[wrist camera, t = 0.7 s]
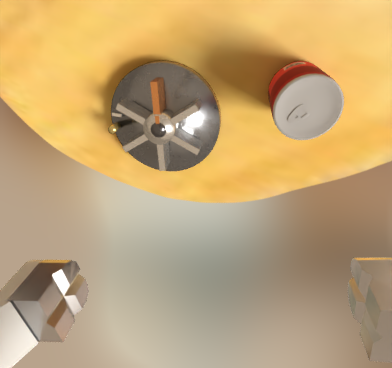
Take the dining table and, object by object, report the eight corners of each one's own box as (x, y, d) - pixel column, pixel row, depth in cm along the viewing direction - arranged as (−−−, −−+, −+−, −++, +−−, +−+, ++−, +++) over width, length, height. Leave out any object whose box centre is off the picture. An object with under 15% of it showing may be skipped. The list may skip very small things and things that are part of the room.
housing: (120, 46, 44) (108, 49, 40) (234, 78, 43) (233, 85, 40) (112, 150, 53) (101, 161, 49) (205, 177, 53) (202, 189, 49)
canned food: (257, 96, 44) (259, 119, 35) (292, 48, 40) (306, 59, 31) (296, 123, 45) (308, 152, 36) (335, 79, 41) (360, 99, 32)
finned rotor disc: (119, 77, 44) (110, 82, 41) (201, 77, 42) (198, 82, 39) (132, 160, 51) (125, 169, 48) (203, 163, 49) (200, 173, 46)
